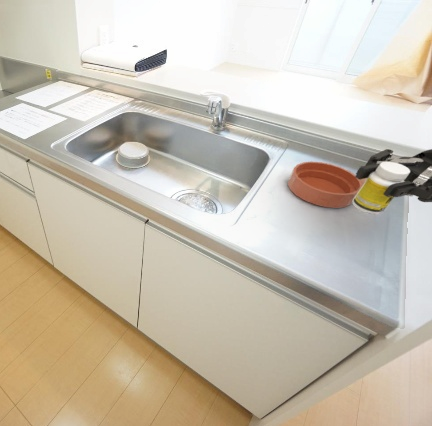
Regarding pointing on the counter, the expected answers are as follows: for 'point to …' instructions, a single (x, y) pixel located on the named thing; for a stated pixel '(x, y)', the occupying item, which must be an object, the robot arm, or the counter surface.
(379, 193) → the supplement bottle
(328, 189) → the bowl
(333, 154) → the counter surface
